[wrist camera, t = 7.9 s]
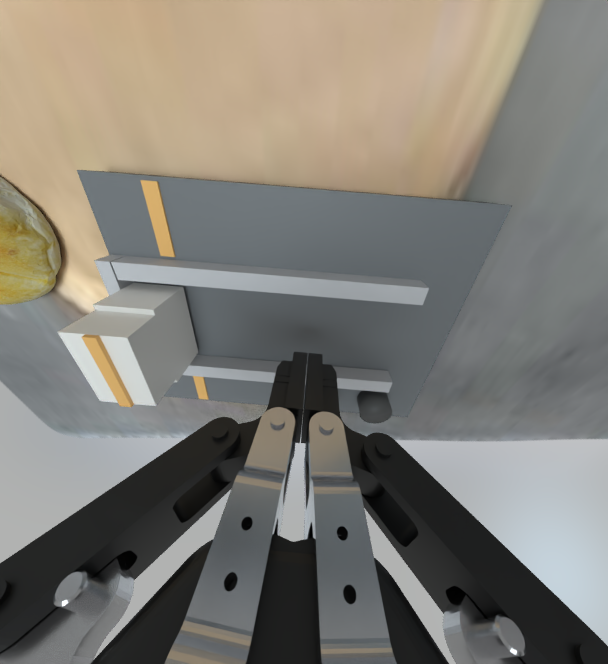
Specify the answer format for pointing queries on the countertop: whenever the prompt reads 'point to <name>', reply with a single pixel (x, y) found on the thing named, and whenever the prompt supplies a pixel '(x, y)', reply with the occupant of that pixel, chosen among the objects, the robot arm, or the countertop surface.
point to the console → (298, 279)
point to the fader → (134, 343)
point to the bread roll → (25, 249)
